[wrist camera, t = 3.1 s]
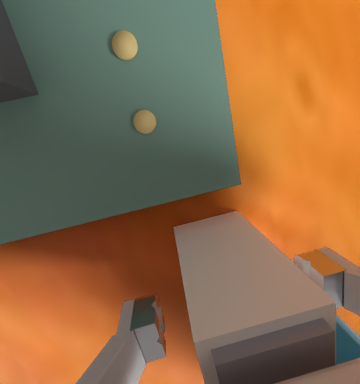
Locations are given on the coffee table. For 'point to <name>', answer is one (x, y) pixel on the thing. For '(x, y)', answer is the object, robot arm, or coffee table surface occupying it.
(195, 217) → the coffee table surface
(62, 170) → the board
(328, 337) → the plug
